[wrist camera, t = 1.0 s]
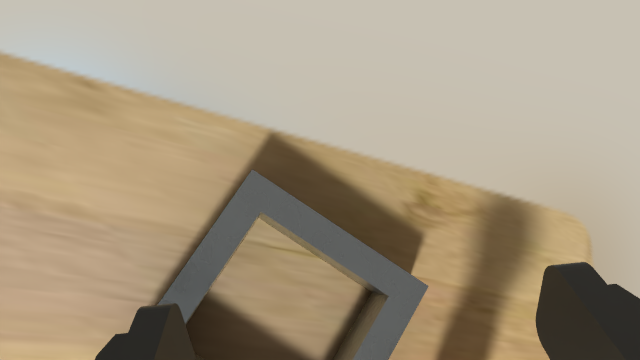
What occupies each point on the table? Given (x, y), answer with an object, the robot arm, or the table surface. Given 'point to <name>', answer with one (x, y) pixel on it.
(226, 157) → the table surface
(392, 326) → the housing
